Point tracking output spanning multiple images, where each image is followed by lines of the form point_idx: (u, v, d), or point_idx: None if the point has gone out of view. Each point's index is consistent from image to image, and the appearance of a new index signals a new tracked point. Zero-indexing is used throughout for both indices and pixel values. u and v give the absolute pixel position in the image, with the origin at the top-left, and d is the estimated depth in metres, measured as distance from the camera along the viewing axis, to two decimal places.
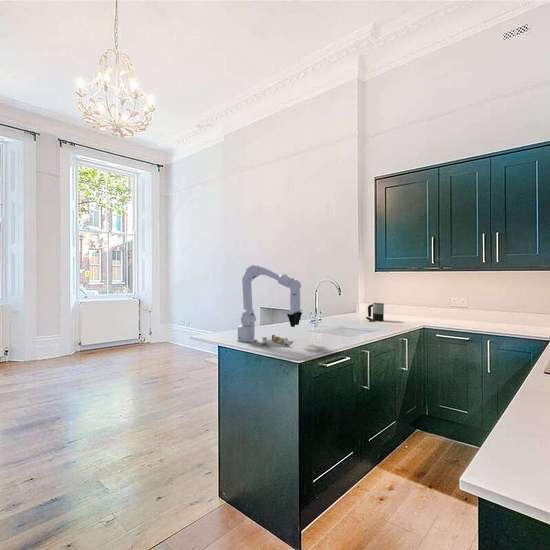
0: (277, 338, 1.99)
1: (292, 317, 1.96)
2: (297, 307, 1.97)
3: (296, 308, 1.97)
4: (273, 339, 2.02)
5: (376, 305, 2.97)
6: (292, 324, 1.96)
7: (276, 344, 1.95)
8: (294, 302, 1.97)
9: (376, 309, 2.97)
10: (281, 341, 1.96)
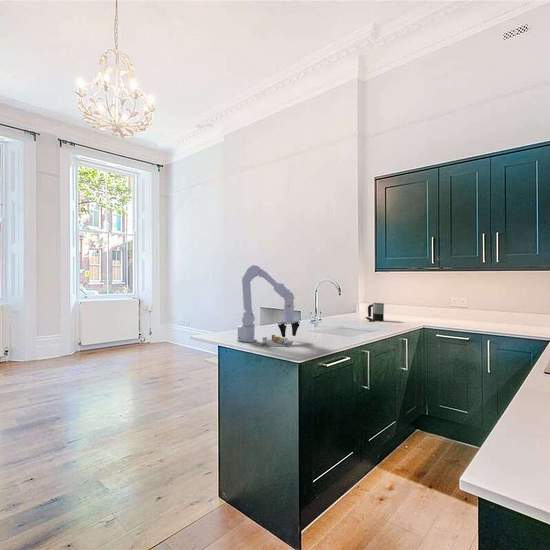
0: (277, 338, 1.99)
1: (282, 328, 2.03)
2: (288, 318, 2.03)
3: (287, 319, 2.03)
4: (273, 339, 2.02)
5: (376, 305, 2.97)
6: (282, 334, 2.03)
7: (276, 344, 1.95)
8: (285, 313, 2.03)
9: (376, 309, 2.97)
10: (281, 341, 1.96)
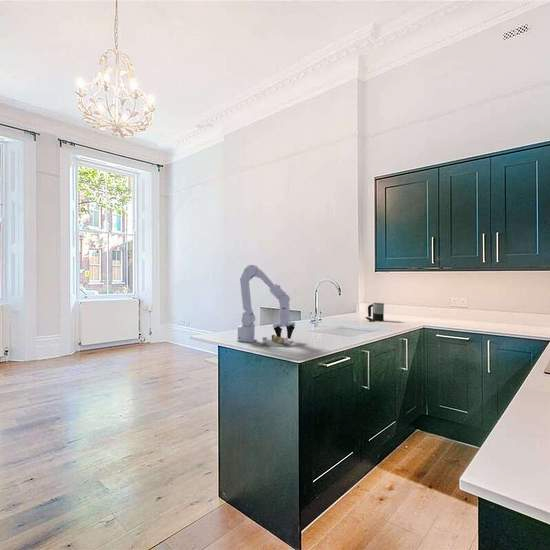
0: (277, 338, 1.99)
1: (278, 330, 2.01)
2: (283, 321, 2.01)
3: (282, 322, 2.01)
4: (273, 339, 2.02)
5: (376, 305, 2.97)
6: None
7: (276, 344, 1.95)
8: (281, 316, 2.01)
9: (376, 309, 2.97)
10: (281, 341, 1.96)
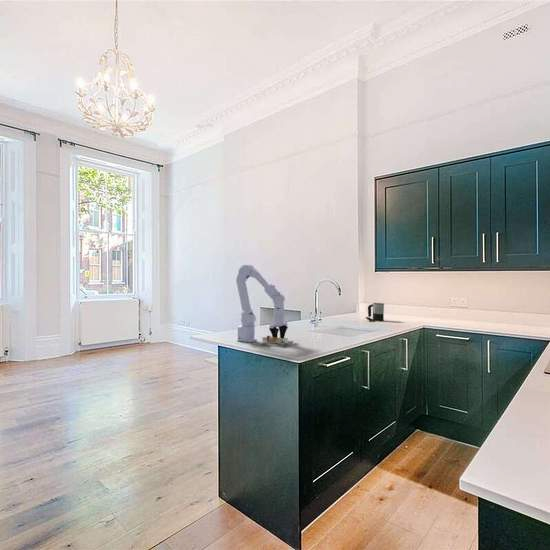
0: (274, 339, 1.97)
1: (274, 331, 1.99)
2: (279, 321, 2.00)
3: (278, 322, 2.00)
4: (269, 340, 1.99)
5: (376, 305, 2.97)
6: None
7: (276, 344, 1.95)
8: (276, 316, 2.00)
9: (376, 309, 2.97)
10: (280, 341, 1.95)
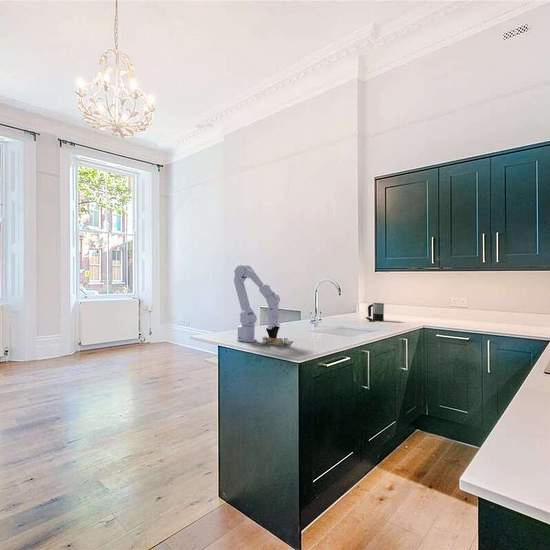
0: (273, 339, 1.95)
1: (271, 331, 1.97)
2: (275, 321, 1.98)
3: (274, 323, 1.97)
4: None
5: (376, 305, 2.97)
6: None
7: (276, 344, 1.95)
8: (272, 317, 1.97)
9: (376, 309, 2.97)
10: (280, 342, 1.94)
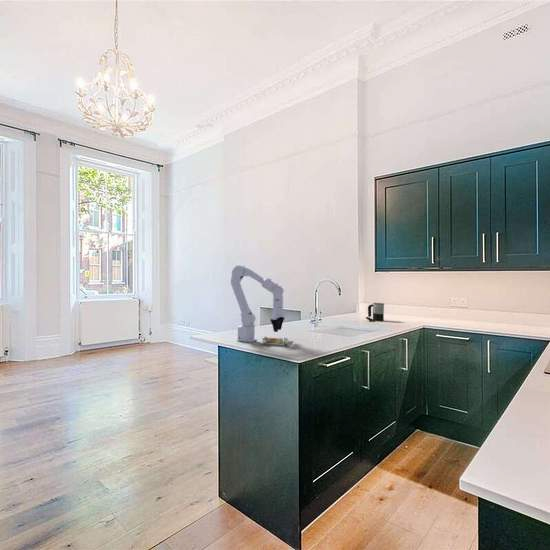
0: (273, 339, 1.95)
1: (275, 322, 1.99)
2: (280, 312, 2.01)
3: (279, 313, 2.01)
4: None
5: (376, 305, 2.97)
6: (275, 329, 1.99)
7: (276, 344, 1.95)
8: (277, 307, 2.01)
9: (376, 309, 2.97)
10: (280, 342, 1.94)
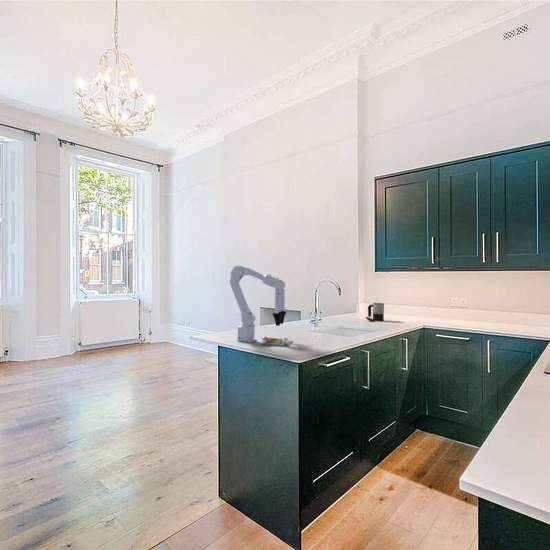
0: (273, 339, 1.95)
1: (277, 316, 2.00)
2: (282, 306, 2.02)
3: (281, 307, 2.01)
4: None
5: (376, 305, 2.97)
6: (277, 323, 2.00)
7: (276, 344, 1.95)
8: (279, 301, 2.01)
9: (376, 309, 2.97)
10: (280, 342, 1.94)
